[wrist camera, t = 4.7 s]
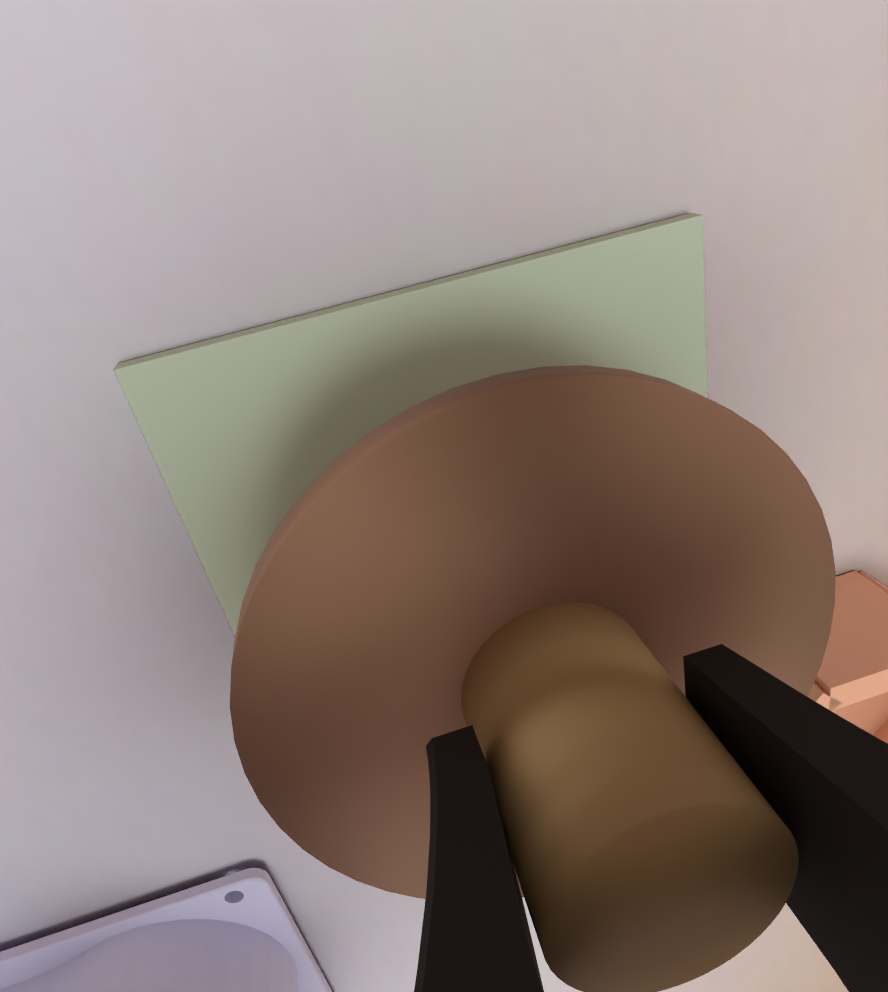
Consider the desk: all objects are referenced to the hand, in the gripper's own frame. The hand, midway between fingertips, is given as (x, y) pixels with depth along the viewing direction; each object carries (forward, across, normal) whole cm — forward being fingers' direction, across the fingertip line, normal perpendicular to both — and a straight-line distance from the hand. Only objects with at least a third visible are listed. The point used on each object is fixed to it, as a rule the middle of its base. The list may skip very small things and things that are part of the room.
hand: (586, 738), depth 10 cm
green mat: (+7, 0, 0) cm, 7 cm away
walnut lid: (+2, 0, 0) cm, 2 cm away
